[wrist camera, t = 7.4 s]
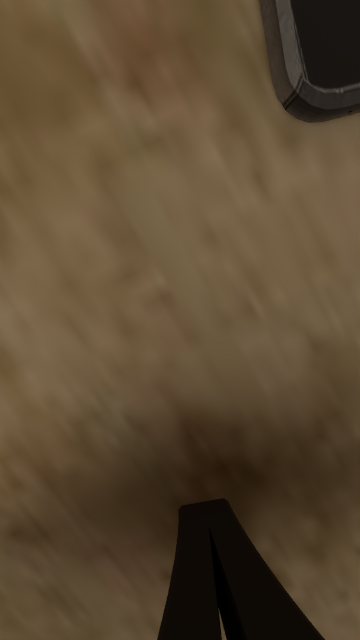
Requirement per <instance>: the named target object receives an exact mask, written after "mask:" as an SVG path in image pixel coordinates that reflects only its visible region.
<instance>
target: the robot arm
mask: <svg viewBox="0 0 360 640" xmlns="http://www.w3.org/2000/svg"><path fill="white" fill-rule="evenodd" d="M218 607H219V610H218ZM219 611H220V615H221V619H222V623H223V627H224V631H225V635H226V639H227V640H325V639H324V638H323V637H322V636H321V634H320V633H319V632H318V631H317V630H316V628H315V627H314V626H313V625H312V623H311V622H310V621H309V620H308V618H307V617H306V616H305V615H304V614H303V612H302V611H301V610H300V608H299V607H298V606H297V605H296V603H295V602H294V601H293V599H292V598H291V597H290V596H289V594H288V593H287V592H286V590H285V589H284V588H283V586H282V585H281V584H280V582H279V581H278V580H277V578H276V577H275V575H274V574H273V573H272V571H271V570H270V568H269V567H268V565H267V564H266V563H265V561H264V560H263V558H262V557H261V555H260V554H259V553H258V551H257V550H256V548H255V547H254V545H253V544H252V542H251V540H250V539H249V537H248V536H247V534H246V533H245V531H244V529H243V528H242V526H241V524H240V523H239V521H238V519H237V518H236V516H235V514H234V512H233V510H232V508H231V506H230V504H229V502H228V501H227V500H226V499H224V498H223V499H217V500H211V501H206V502H200V503H194V504H188V505H183V506H181V507H180V509H179V525H178V537H177V545H176V552H175V559H174V564H173V570H172V575H171V581H170V587H169V591H168V596H167V601H166V605H165V609H164V613H163V618H162V622H161V626H160V630H159V635H158V639H157V640H222V637H221V628H220V619H219Z"/></svg>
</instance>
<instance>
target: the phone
mask: <svg viewBox="0 0 360 640" xmlns="http://www.w3.org/2000/svg"><path fill="white" fill-rule="evenodd" d="M259 1H260V7H261V13H262V19H263V25H264V31H265V38H266V44H267V50H268V56H269V62H270V68H271V75H272V81H273V85H274V88H275V91H276V95H277V98H278V100H279V101H280V102H281V104H282V105H283V107H284V108H285V110H286V111H287V112H289V113H290V114H291V115H293V116H294V117H295V118H297V119H299V120H303V121H306V122H309V123H312V122H324V121H327V120H331V119H335V118H339V117H343V116H347V115H351V114H355V113H358V112H360V0H259ZM352 110H353V111H352ZM349 111H352V112H349ZM348 112H349V113H348Z"/></svg>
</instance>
